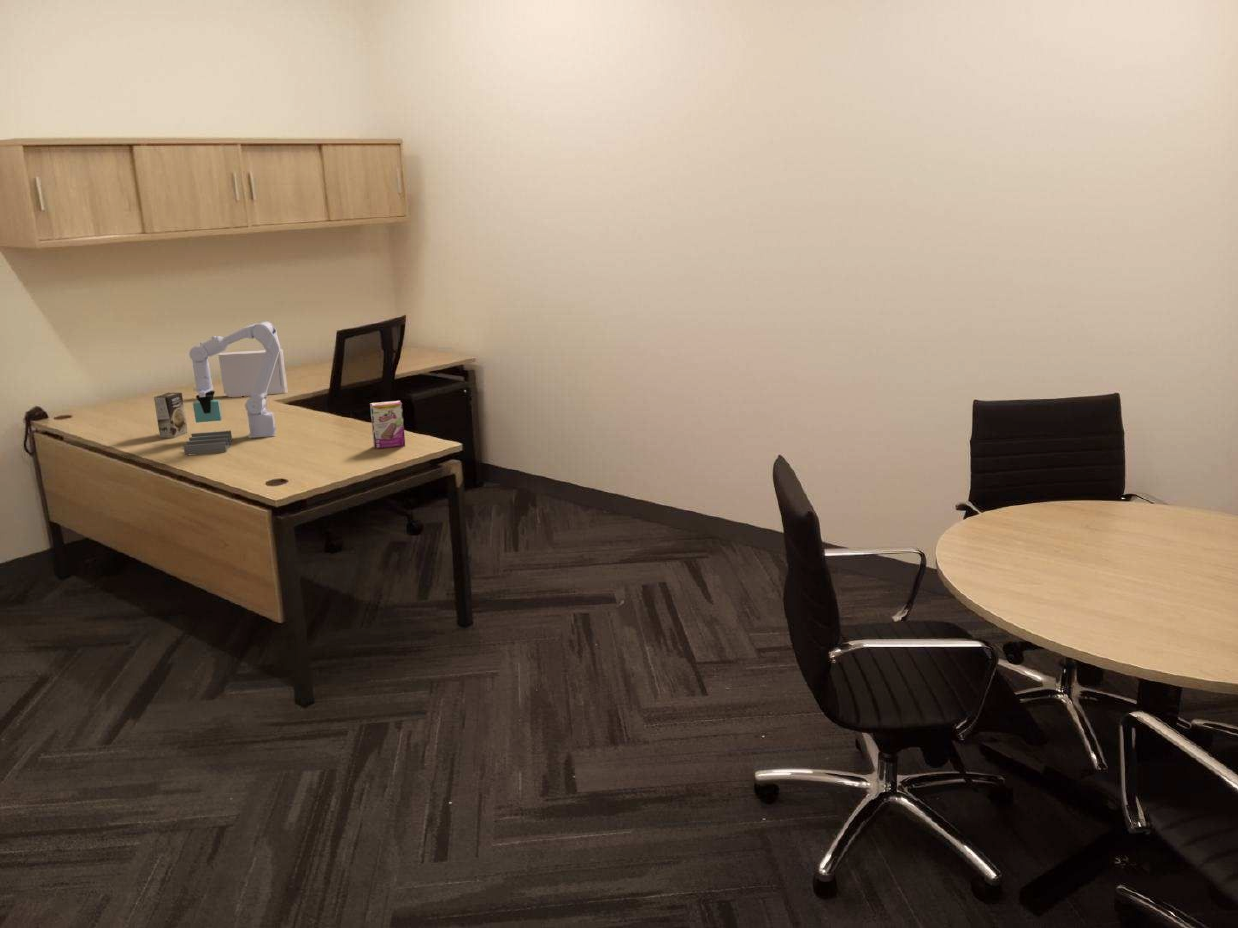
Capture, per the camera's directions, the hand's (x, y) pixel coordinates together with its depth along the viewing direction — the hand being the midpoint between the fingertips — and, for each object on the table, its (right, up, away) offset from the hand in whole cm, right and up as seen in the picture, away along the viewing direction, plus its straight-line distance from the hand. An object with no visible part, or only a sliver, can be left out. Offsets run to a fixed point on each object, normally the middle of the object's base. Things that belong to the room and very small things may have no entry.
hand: (208, 411), depth 369 cm
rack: (+5, -14, -10) cm, 17 cm away
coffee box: (-17, -9, +9) cm, 21 cm away
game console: (-10, +12, +76) cm, 78 cm away
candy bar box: (+73, -14, -14) cm, 75 cm away
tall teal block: (0, -3, +1) cm, 3 cm away
